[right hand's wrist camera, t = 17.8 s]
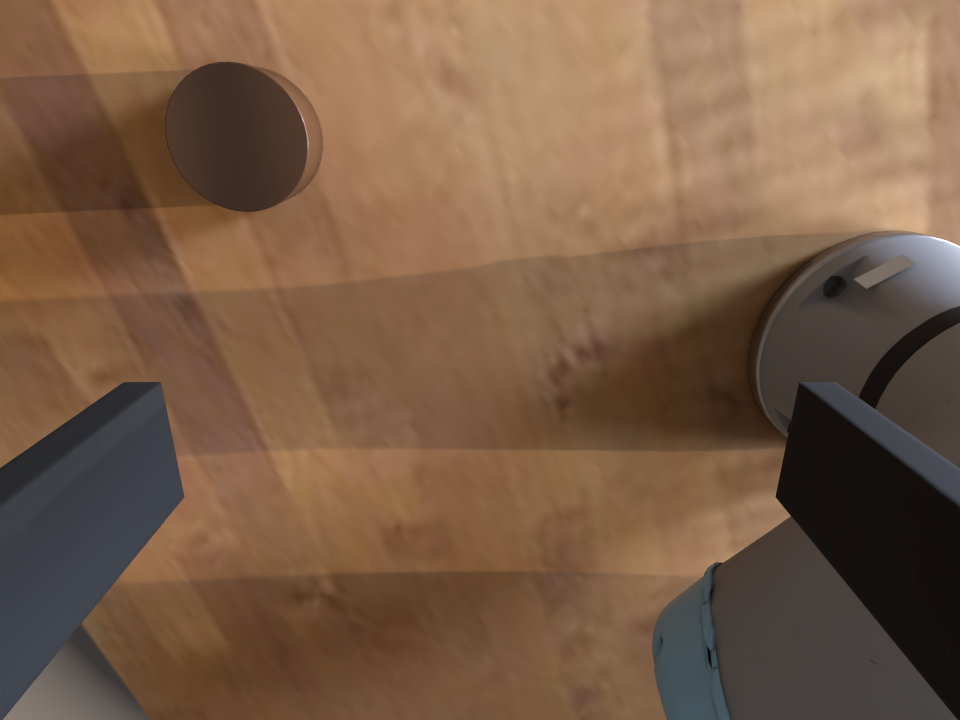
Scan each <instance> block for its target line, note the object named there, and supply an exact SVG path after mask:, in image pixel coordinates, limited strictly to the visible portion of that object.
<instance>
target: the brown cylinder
mask: <svg viewBox="0 0 960 720" xmlns="http://www.w3.org/2000/svg"><path fill="white" fill-rule="evenodd" d="M165 132H166V140H167V145H168V149H169V151H170V154H171V157H172V159H173V161H174V163H175V166H176V167H177V169H178V171H179V172H180V174H181V175H182V176H183V178H184V179H185V180H186V182H187V183H188V184H189V185H190V186H191V187H192V188H193V189H194V190H195V191H196V192H198V193H199V194H200V195H201V196H203V197H204V198H206V199H207V200H209V201H211V202H213V203H215V204H217V205H219V206H221V207H224V208H227V209H231V210H236V211H245V212H249V211H259V210H264V209H267V208H270V207H273V206H275V205H277V204H279V203H281V202H283V201H285V200H287V199H289V198H291V197H293V196H295V195H297V194H298V193H300V192H301V191H302V190H303V189H304V188H305V187H306V186H308V184H309V183H310V182H311V181H312V179H313V178H314V176H315V174H316V172H317V170H318V167H319V165H320V161H321V157H322V150H323V138H322V131H321V127H320V123H319V120H318V117H317V115H316V112H315V110H314V108H313V107H312V105H311V103H310V102H309V100H308V99H307V97H306V96H305V95H304V94H303V93H302V91H301V90H300V89H299V88H298V87H296V86H295V85H294V84H293V83H292V82H290V81H289V80H288V79H286V78H285V77H283V76H281V75H279V74H277V73H275V72H272V71H270V70H266V69H262V68H258V67H254V66H250V65H245V64H241V63H235V62H217V63H212V64H208V65H205V66H202V67H200V68H198V69H196V70H194V71H193V72H191V73H190V74H189V75H187V76H186V77H185V78H184V79H183V80H182V81H181V82H180V83H179V85H178V86H177V88H176V89H175V90H174V92H173V94H172V96H171V98H170V101H169V104H168V107H167V112H166V118H165Z"/></svg>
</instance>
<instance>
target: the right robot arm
mask: <svg viewBox="0 0 960 720" xmlns="http://www.w3.org/2000/svg"><path fill="white" fill-rule="evenodd" d="M749 377H750V383H751V388H752V391H753V395H754V397H755V400H756V402H757V404H758V406H759V407H760V409H761V411H762V412H763V414H764V415H765V416H766V418H767V419H768V420H769V421H770V422H771V423H772V424H773V425H774V426H775V427H776V428H777V429H778V430H779V431H780V432H781V433H782V434H783V435H784V436H785V437H787V438H788V439H787V444H786V449H785V453H784V458H783V463H782V468H781V473H780V478H779V483H778V488H777V493H776V498H777V499H778V500H779V502H780V503H781V504H782V505H783V507H784V508H785V509H786V510H787V511H788V513H789V514H790V515H791V517H789V518H788V519H786V520H785V521H784V522H782V523H781V524H779V525H778V526H777V527H775V528H774V529H772V530H771V531H769V532H768V533H767V534H765V535H764V536H762V537H761V538H759V539H758V540H756V541H755V542H753V543H752V544H750V545H749V546H748V547H746V548H745V549H743V550H742V551H740V552H739V553H737V554H736V555H734V556H733V557H731V558H730V559H728V560H727V561H725V562H724V563H718V562H716V563H714V564H713V565H711V566H710V567H709V568H707V570H706V572H705V574H704V576H703V577H702V578H701V579H699V580H698V581H697V582H696V583H694V584H693V585H692V586H691V587H689V588H688V589H687V590H685V591H684V592H683V593H682V594H680V595H679V596H678V597H677V598H675V599H674V600H673V601H671V602H670V603H669V604H668V605H667V606H666V607H665V608H664V609H663V611H662V612H661V614H660V615H659V617H658V620H657V622H656V625H655V629H654V634H653V646H652V649H653V658H654V664H655V669H654V671H655V676H656V681H657V686H658V690H659V694H660V698H661V702H662V705H663V708H664V712H665V715H666V718H667V720H960V247H959V246H957V245H955V244H953V243H950V242H948V241H945V240H942V239H938V238H935V237H931V236H927V235H923V234H919V233H913V232H905V231H885V232H877V233H871V234H866V235H862V236H858V237H855V238H852V239H849V240H847V241H844V242H842V243H839V244H837V245H835V246H833V247H831V248H829V249H827V250H825V251H823V252H822V253H820V254H819V255H817V256H815V257H814V258H812V259H811V260H810V261H808V262H807V263H806V264H804V265H803V266H802V267H801V268H800V269H798V270H797V271H796V272H795V273H794V274H793V275H792V276H791V277H790V278H789V279H788V280H787V281H786V282H785V283H784V284H783V285H782V286H781V288H780V289H779V290H778V291H777V292H776V294H775V295H774V297H773V298H772V299H771V301H770V302H769V304H768V305H767V307H766V309H765V311H764V312H763V314H762V316H761V318H760V320H759V323H758V325H757V328H756V330H755V333H754V336H753V340H752V344H751V349H750V355H749ZM183 498H184V493H183V488H182V483H181V478H180V473H179V468H178V463H177V458H176V453H175V449H174V444H173V439H172V434H171V429H170V424H169V419H168V414H167V409H166V404H165V399H164V395H163V390H162V385H161V382H124V383H122V384H121V385H119V386H118V387H116V388H115V389H114V390H112V391H111V392H109V393H108V394H106V395H105V396H103V397H102V398H101V399H99V400H98V401H96V402H95V403H93V404H92V405H91V406H89V407H88V408H86V409H85V410H83V411H82V412H80V413H79V414H78V415H76V416H75V417H73V418H72V419H70V420H69V421H67V422H66V423H65V424H63V425H62V426H60V427H59V428H57V429H56V430H55V431H53V432H52V433H50V434H49V435H47V436H46V437H44V438H43V439H42V440H40V441H39V442H37V443H36V444H34V445H33V446H32V447H30V448H29V449H27V450H26V451H24V452H23V453H21V454H20V455H19V456H17V457H16V458H14V459H13V460H11V461H10V462H9V463H7V464H6V465H4V466H3V467H1V468H0V720H3V718H4V717H5V716H6V715H7V714H8V712H9V711H10V710H11V709H12V708H13V706H14V705H15V704H16V703H17V701H18V700H19V699H20V698H21V696H22V695H23V694H24V693H25V692H26V690H27V689H28V688H29V687H30V685H31V684H32V683H33V682H34V681H35V679H36V678H37V677H38V676H39V674H40V673H41V672H42V671H43V670H44V668H45V667H46V666H47V665H48V663H49V662H50V661H51V660H52V658H53V657H54V656H55V655H56V654H57V652H58V651H59V650H60V649H61V647H62V646H63V645H64V644H65V643H66V641H67V640H68V639H69V638H70V636H71V635H72V634H73V633H74V631H75V630H76V629H77V628H78V627H79V625H80V624H81V623H82V622H83V621H84V619H85V618H86V617H87V616H88V614H89V613H90V612H91V611H92V610H93V608H94V607H95V606H96V605H97V603H98V602H99V601H100V600H101V598H102V597H103V596H104V595H105V594H106V592H107V591H108V590H109V589H110V587H111V586H112V585H113V584H114V583H115V581H116V580H117V579H118V578H119V576H120V575H121V574H122V573H123V572H124V570H125V569H126V568H127V567H128V565H129V564H130V563H131V562H132V560H133V559H134V558H135V557H136V556H137V554H138V553H139V552H140V551H141V549H142V548H143V547H144V546H145V545H146V543H147V542H148V541H149V540H150V538H151V537H152V536H153V535H154V534H155V532H156V531H157V530H158V529H159V527H160V526H161V525H162V524H163V523H164V521H165V520H166V519H167V518H168V516H169V515H170V514H171V513H172V511H173V510H174V509H175V508H176V507H177V505H178V504H179V503H180V502H181V500H182V499H183Z"/></svg>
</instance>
